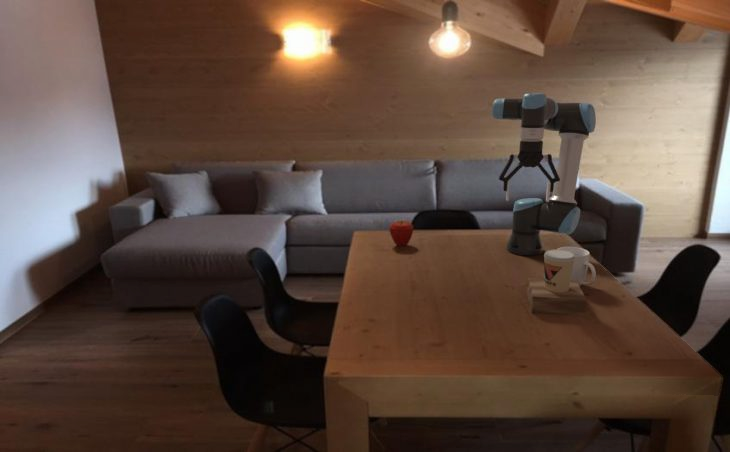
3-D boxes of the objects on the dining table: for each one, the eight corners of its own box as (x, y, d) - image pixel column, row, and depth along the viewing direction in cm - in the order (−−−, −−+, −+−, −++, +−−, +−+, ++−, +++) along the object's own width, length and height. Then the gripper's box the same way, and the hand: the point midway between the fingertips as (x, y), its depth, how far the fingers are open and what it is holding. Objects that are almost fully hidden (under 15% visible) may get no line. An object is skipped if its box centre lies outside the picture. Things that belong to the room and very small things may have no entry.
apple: (390, 241, 238) (390, 217, 234) (413, 242, 236) (413, 217, 233) (388, 249, 227) (388, 223, 224) (412, 249, 226) (412, 224, 222)
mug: (602, 289, 179) (606, 255, 175) (583, 296, 173) (587, 261, 169) (565, 277, 191) (568, 244, 187) (547, 283, 185) (550, 250, 181)
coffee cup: (535, 285, 168) (538, 251, 165) (557, 280, 171) (560, 247, 168) (555, 295, 160) (558, 260, 157) (577, 290, 163) (581, 256, 160)
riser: (526, 293, 176) (527, 277, 175) (574, 296, 173) (576, 280, 171) (531, 313, 161) (533, 296, 160) (584, 317, 158) (586, 299, 156)
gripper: (494, 141, 169) (491, 201, 175) (572, 141, 164) (566, 203, 170) (493, 138, 176) (490, 197, 182) (568, 138, 172) (562, 199, 177)
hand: (527, 200), depth 176 cm, fingers open, 13 cm apart
